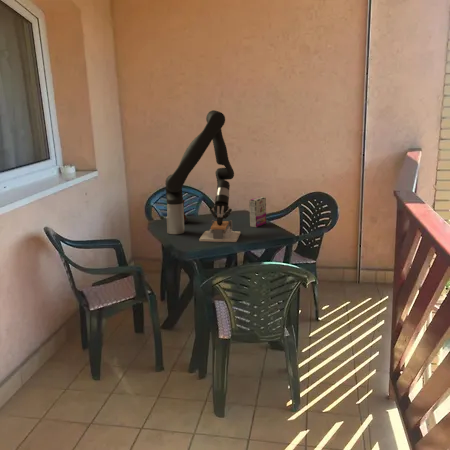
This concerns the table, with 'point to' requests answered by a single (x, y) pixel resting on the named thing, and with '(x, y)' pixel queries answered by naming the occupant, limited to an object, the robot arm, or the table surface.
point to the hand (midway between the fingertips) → (219, 224)
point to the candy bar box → (257, 211)
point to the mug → (184, 214)
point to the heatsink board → (225, 236)
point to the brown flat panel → (222, 226)
